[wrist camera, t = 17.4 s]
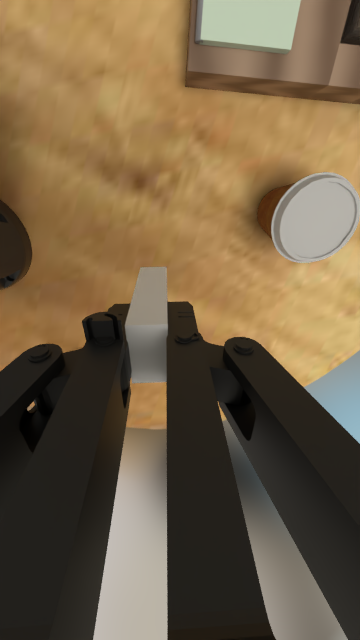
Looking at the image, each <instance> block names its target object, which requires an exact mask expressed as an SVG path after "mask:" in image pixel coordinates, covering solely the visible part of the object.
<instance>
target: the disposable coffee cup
mask: <svg viewBox="0 0 360 640" xmlns="http://www.w3.org/2000/svg"><path fill="white" fill-rule="evenodd" d="M257 217H258V222H259V224H260V226H261V227H262V229H263V230H264V231H265V232H266V233H267V234H268V235H269V236H270V238H271V239H272V240H273V243H274V246H275V248H276V249H277V250H278V252H279V253H280V254H281V255H282V256H284V257H285V258H286V259H288V260H291V261H293V262H298V263H309V262H314V261H320V260H323V259H325V258H328V257H330V256H331V255H333V254H335V253H336V252H338V251H339V250H340V249H341V248H342V247H343V246H344V245H345V244H346V243H347V242H348V241H349V239H350V238H351V237H352V235H353V233H354V231H355V230H356V227H357V225H358V222H359V217H360V199H359V196H358V193H357V192H356V190H355V189H354V187H353V186H352V185H351V183H350V182H349V181H348V180H347V179H345V178H344V177H342V176H341V175H338V174H335V173H329V172H323V173H316V174H312V175H310V176H307V177H305V178H303V179H301V180H299V181H298V182H296V183H294V184H291V185H287V186H284V187H281V188H277V189H274V190H272V191H270V192H269V193H268V194H267V195H266V196H265V197H264V198H263V199H262V201H261V203H260V205H259V207H258V212H257Z"/></svg>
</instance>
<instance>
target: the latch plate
mask: <svg viewBox="0 0 360 640" xmlns="http://www.w3.org/2000/svg"><path fill="white" fill-rule="evenodd" d="M300 2H301V0H198V3H197V17H196V32H195V43H197V44H202V45H210V46H219V47H228V48H237V49H245V50H254V51H263V52H272V53H280V54H287V53H288V52H289V51H290V50H291V47H292V42H293V37H294V32H295V27H296V22H297V17H298V12H299V7H300Z"/></svg>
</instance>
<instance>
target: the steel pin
mask: <svg viewBox="0 0 360 640" xmlns="http://www.w3.org/2000/svg"><path fill="white" fill-rule="evenodd" d="M340 43H341V44H350V45H359V46H360V0H351V4H350V7H349V11H348V15H347V18H346V22H345V26H344V30H343V33H342V37H341V41H340Z"/></svg>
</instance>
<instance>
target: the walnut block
mask: <svg viewBox="0 0 360 640" xmlns="http://www.w3.org/2000/svg"><path fill="white" fill-rule="evenodd" d="M197 3H198V0H190V16H189V33H188V50H187V67H186V84H185V87H193V88H203V89H213V90H223V91H233V92H243V93H253V94H263V95H273V96H283V97H293V98H304V99H314V100H324V101H334V102H344V103H354V104H360V46H359V45H350V44H341V43H340V41H341V37H342V33H343V30H344V26H345V22H346V18H347V15H348V11H349V7H350V4H351V0H301V2H300V7H299V12H298V17H297V22H296V27H295V32H294V37H293V42H292V47H291V50H290V51H289V52H288V53H287V54H280V53H272V52H263V51H254V50H245V49H237V48H228V47H219V46H210V45H202V44H197V43H195V32H196V17H197Z"/></svg>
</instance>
